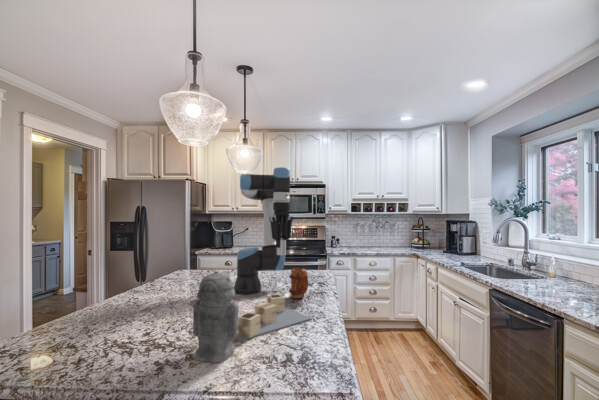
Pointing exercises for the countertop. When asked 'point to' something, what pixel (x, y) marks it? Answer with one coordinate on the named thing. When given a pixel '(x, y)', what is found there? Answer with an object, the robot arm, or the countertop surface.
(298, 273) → the mug
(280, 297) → the labelled block
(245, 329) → the labelled block
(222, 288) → the figurine
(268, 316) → the plain block
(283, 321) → the mat
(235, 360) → the countertop surface
